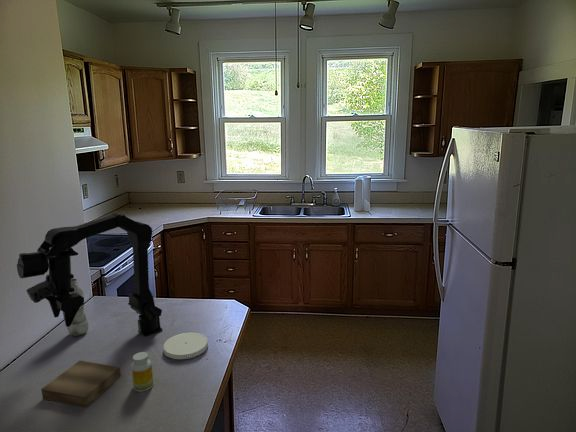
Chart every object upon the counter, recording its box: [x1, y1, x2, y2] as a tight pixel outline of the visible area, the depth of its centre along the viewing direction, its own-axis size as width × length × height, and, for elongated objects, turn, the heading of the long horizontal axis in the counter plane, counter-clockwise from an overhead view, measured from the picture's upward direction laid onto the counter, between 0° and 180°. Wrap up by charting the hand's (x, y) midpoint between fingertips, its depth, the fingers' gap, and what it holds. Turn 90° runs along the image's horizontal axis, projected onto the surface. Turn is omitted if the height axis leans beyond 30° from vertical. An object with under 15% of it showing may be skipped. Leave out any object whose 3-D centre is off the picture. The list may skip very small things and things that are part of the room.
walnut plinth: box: [41, 360, 121, 408], centre depth 116 cm, size 14×14×3 cm
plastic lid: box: [163, 332, 209, 360], centre depth 134 cm, size 14×14×2 cm
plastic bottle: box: [67, 278, 89, 337], centre depth 144 cm, size 6×7×20 cm
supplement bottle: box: [130, 351, 154, 393], centre depth 115 cm, size 5×5×10 cm
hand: (62, 321), depth 124 cm, fingers open, 9 cm apart
